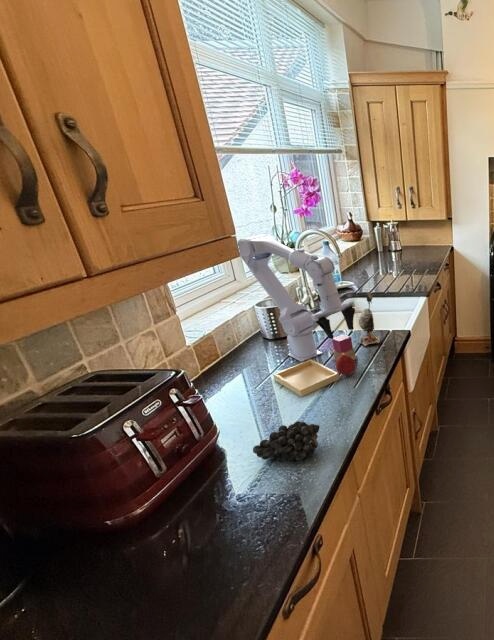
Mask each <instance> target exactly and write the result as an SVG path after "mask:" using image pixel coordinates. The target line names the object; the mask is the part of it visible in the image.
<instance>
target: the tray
mask: <svg viewBox="0 0 494 640" xmlns="http://www.w3.org/2000/svg"><path fill="white" fill-rule="evenodd" d="M340 378H341V377H340V373H339V372H338V371H335V370H334V369H332V368H330V367H327V366H325V365H324V364H322V363H320V362H318V361H315V360H314V359H312V358H310V359H307V360H305V361H302V362H300V363H298V364H296V365H293V366H291V367H288V368H285V369H283V370H281V371H277V372H275V373H273V379H274V381H276V382H277V383H279V384H280V385H282V386H283V387H286V388H287V389H288V390H290V391H292V392H293V393H294V394H297V395H298V396H300V397H304V396H305V395H308V394H311V393H312V392H315V391H317V390H319V389H321V388H324V387H326V386H327V385H330V384H332V383H334V382H336V381H338V380H340Z"/></svg>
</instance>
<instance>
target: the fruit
mask: <svg viewBox="0 0 494 640" xmlns="http://www.w3.org/2000/svg"><path fill="white" fill-rule="evenodd" d="M319 432H320V425H319V424H314V423H311V424H308V423H307V422H306V421H300V420H297V421H295V422H294V423H292V424H290V425H288V427H287V425H286V424H283V425H280V426H279V427H278V431H277V432H276V431H273V432H270V434H269V438H268V439H262V440H260V442H259V444H257V445H254V446H253V448H252V453H253V454H256V456H257V458H261V459H262V460H263V461H265V460H268V459H271V460H273V459H275V460H276V461H277V462H282V461H288V460H289V461H294V460H295V461H297V462H300V461H303V459H305V458H307V459H311V458H313V457H314V455H315V452H316V449H317V448H318V446H319V442H318V433H319Z"/></svg>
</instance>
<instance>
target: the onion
mask: <svg viewBox="0 0 494 640" xmlns="http://www.w3.org/2000/svg"><path fill="white" fill-rule="evenodd" d="M335 369H336V372H337V373H339V374H341V375H343V376H346V377H349V376H350V375H351V374H352V373H353V372H354V371H355V369H356V361H355V360H353V359H352V358H351V357H350V356H348V355H345V354H344V353H342V356H341V357H340V358H339V359H338V360H337V361H335Z"/></svg>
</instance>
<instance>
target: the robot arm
mask: <svg viewBox="0 0 494 640" xmlns="http://www.w3.org/2000/svg"><path fill="white" fill-rule="evenodd" d="M237 242H238V246H239V250H240V255H239V257H240V259H241V260H242V261H243V262H244V264H245V265H246V266H247V267H248V269H249V271H250V272H251V274H252V275H253V276H254V277H255V279H256V280H257V282H258V283H259V284H260V286H261V287H262V288H263V290H264V291H265V292H266V293H267V295H268V296H269V298H270V299H271V300H272V302H273V303H274V304H275V306H276V307H277V308H278V309H279V311H280V315H279V317H278V321H279V324H281V327H282V330H283V332H285V333H286V334H287V336H286V341H287V344H288V348H289V353H288V354H287V355H288V356H289V357H291V358H293V359H295V360H297V361H299V362H300V363H303V362H305V361H308V360H310V359H312V358H315V357H318V356H320V355H322V354H323V352H322V351H320V350H318V348H317V344H316V341H315V337H314V336H315V334H314V329H315V327H314V326H315V325H316V324H317V325H318V326H319V327H320V328H321V329H322V330H323V331H324V333H325V335H326V336H327V338H328V339H330V340H332V338H334V334H333V330H332V327H331V321H330V320H331V319H329V318H327V317H329V316H332V315H335V314H337V313H340V312H341V314H342V316H343V318H344V320H345V323H346V327H347V329H348V330H349V331H353V330H354V319H355V318H354V316H355V314H356V313H355V312H356V309H355V307H356V304H355V301H354V300H349V301H346V302H342V300H341V298H340V295H339V292H338V288H337V285H336V282H335V278H334V275H333V273H334V271H335V264H334V262H333V261H332V259H330V258H329V257H327V256H326V255H325V256H321V257H320V256H318V255H316V254H312V253H310V252H307V251H306V250H305V249H304V248H302V247H301V248H296V249H292V248H291V247H289V246H287V245H285V244H283V243H282V242H279V241H277V240H275V238H274V237H273V236H271V235H269V234H266V233H263V234H260V235H254V236H250V237H245V238H240V239H238V240H237ZM273 255H275V256H277V257H280V258H282V259H285V260H288V261H289V263H290V265H291V266H293V267H296V268H297V269H300V270H302V271H305V272H306V273H307V275H308V276H309V277H310V278H311V280H312V283H314V285H315V286H316V290H317V293H318V296H319V299H320V303H321V305H322V308H323V309H322V310H320V311H318V312H315V313H313V312H312V311H311V310H309V309H308V308H307V307H306V306H305V305H303V304H300V303H297V302H296V301H295V300H294V298H293V296H291V295H290V293H289V292H288V290H287V289H286V288H285V286H284V285H283V284H282V282H281V281H280V280H279V278H278V277H277V275H276V274H275V273H274V271H273V270H272V269H271V267H270V266H269V262H270V261H271V260H272V256H273Z"/></svg>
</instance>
